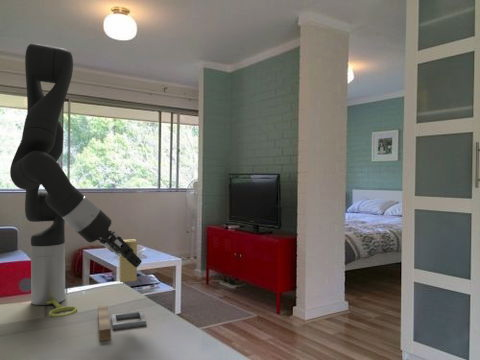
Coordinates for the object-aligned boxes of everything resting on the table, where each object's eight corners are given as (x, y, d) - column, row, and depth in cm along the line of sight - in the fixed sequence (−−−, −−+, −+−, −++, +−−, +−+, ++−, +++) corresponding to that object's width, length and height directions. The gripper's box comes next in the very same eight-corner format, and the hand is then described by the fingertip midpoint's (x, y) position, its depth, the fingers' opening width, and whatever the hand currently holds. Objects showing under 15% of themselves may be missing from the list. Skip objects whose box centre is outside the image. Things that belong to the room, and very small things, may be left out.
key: (54, 305, 119) (54, 298, 119) (80, 312, 112) (80, 305, 112) (30, 312, 113) (30, 304, 113) (57, 320, 106) (57, 312, 106)
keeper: (111, 319, 106) (111, 314, 106) (142, 315, 109) (142, 310, 109) (112, 329, 98) (112, 324, 98) (146, 325, 101) (146, 320, 101)
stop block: (119, 278, 105) (119, 239, 105) (135, 277, 106) (135, 239, 106) (120, 282, 101) (120, 242, 101) (136, 280, 102) (136, 241, 102)
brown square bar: (98, 315, 109) (98, 306, 109) (107, 314, 109) (107, 305, 109) (99, 341, 92) (99, 330, 92) (110, 339, 93) (110, 328, 92)
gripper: (107, 209, 93) (155, 255, 100) (89, 205, 105) (134, 247, 112) (83, 234, 90) (135, 280, 97) (68, 227, 102) (115, 269, 109)
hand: (134, 262), depth 104 cm, fingers closed on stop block, 5 cm apart
